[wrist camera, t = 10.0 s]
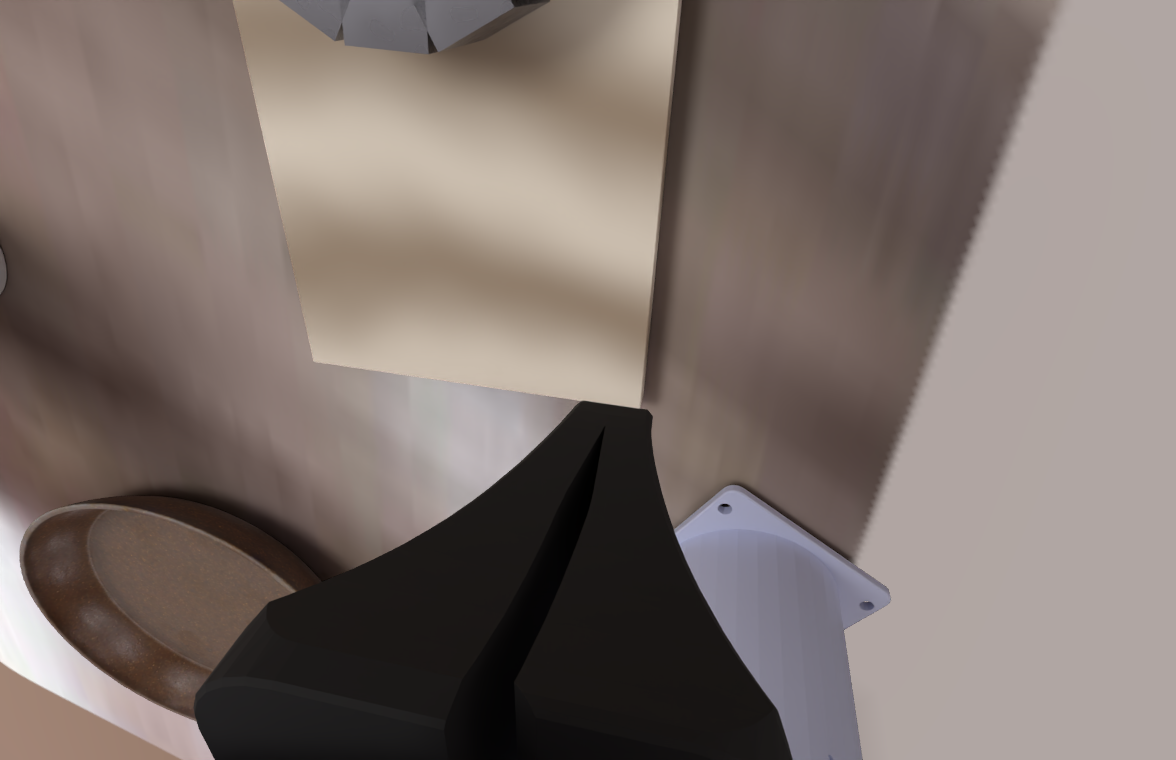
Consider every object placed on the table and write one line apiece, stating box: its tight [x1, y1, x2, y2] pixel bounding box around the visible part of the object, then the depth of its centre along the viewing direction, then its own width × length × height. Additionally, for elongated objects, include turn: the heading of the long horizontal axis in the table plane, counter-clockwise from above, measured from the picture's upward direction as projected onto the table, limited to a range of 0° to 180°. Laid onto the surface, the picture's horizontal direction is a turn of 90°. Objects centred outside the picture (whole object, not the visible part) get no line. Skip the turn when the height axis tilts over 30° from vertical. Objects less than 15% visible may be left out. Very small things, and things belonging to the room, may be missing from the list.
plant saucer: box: [20, 496, 321, 721], centre depth 34 cm, size 18×18×3 cm
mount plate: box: [233, 0, 682, 409], centre depth 18 cm, size 20×12×1 cm, turn 178°
